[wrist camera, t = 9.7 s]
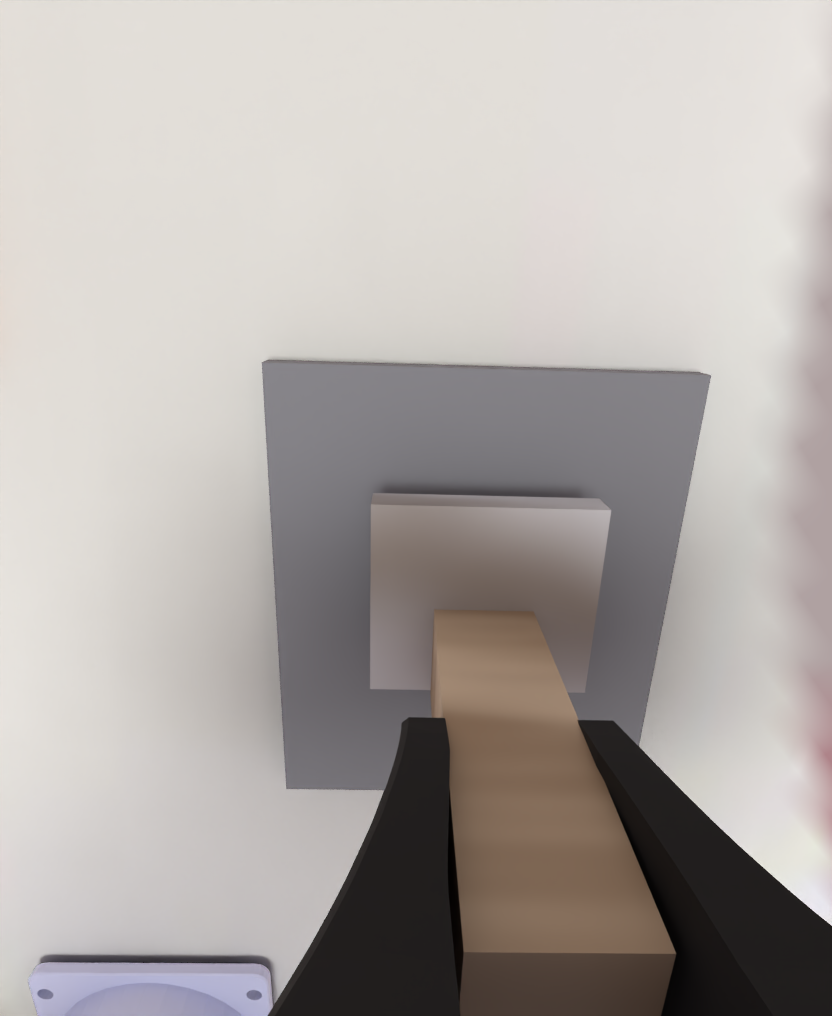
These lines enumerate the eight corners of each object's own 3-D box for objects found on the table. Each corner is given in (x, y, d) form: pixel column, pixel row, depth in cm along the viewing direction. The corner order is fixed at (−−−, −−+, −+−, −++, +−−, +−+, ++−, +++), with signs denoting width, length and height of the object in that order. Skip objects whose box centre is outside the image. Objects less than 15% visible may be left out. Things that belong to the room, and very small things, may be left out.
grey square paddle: (574, 675, 14) (762, 1087, 7) (371, 672, 14) (330, 1086, 7) (599, 498, 13) (875, 768, 5) (373, 492, 13) (321, 762, 5)
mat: (622, 777, 18) (629, 792, 17) (290, 772, 17) (286, 788, 17) (698, 372, 14) (710, 375, 13) (268, 360, 13) (261, 362, 13)
